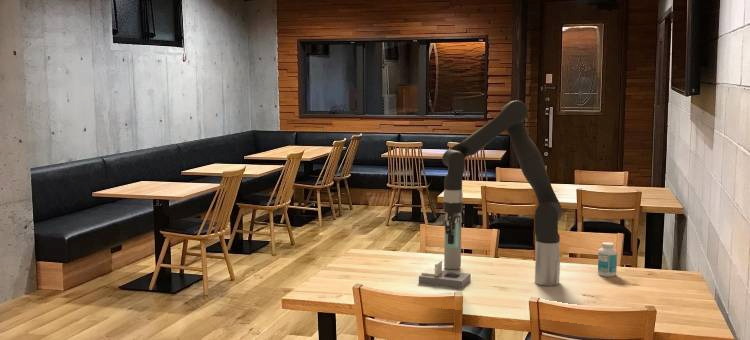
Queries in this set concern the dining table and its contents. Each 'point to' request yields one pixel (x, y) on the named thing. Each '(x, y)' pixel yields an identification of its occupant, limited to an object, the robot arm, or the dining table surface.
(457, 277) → the socket block
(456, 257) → the water bottle
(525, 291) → the dining table surface
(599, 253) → the pill bottle
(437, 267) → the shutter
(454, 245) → the teal flat-sided block
